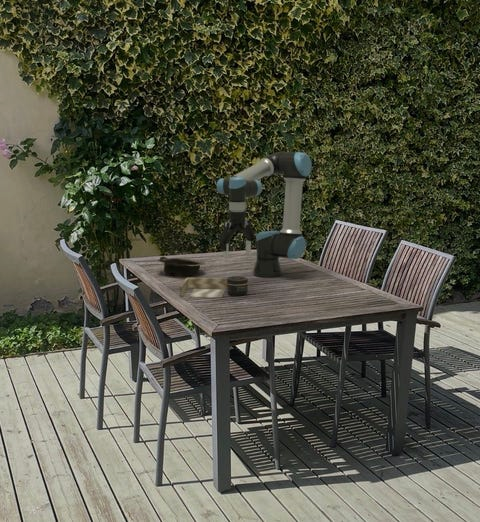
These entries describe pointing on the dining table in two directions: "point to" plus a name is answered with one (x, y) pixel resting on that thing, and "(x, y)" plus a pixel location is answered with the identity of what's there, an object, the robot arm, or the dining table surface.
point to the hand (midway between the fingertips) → (237, 256)
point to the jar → (237, 286)
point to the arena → (210, 284)
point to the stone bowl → (181, 266)
